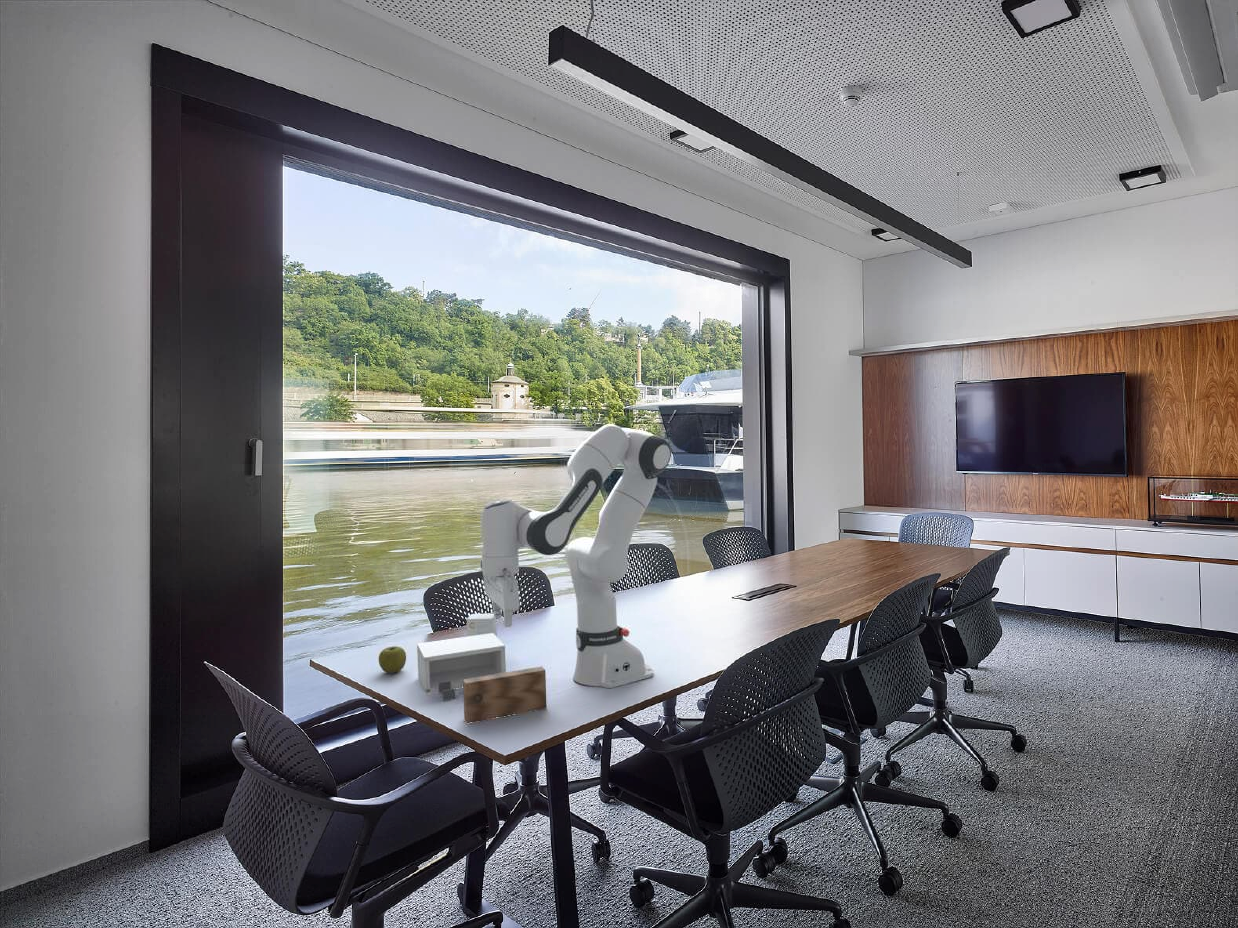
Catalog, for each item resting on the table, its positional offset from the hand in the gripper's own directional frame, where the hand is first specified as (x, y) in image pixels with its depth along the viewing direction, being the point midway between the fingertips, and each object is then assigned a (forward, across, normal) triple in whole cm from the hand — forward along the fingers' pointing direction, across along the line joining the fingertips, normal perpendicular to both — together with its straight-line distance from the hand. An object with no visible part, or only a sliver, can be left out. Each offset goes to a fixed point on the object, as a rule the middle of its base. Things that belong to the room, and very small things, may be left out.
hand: (502, 621), depth 173 cm
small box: (+23, +47, -5) cm, 53 cm away
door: (+23, 0, 0) cm, 23 cm away
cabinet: (+23, +27, +5) cm, 36 cm away
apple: (+23, +46, +22) cm, 56 cm away
